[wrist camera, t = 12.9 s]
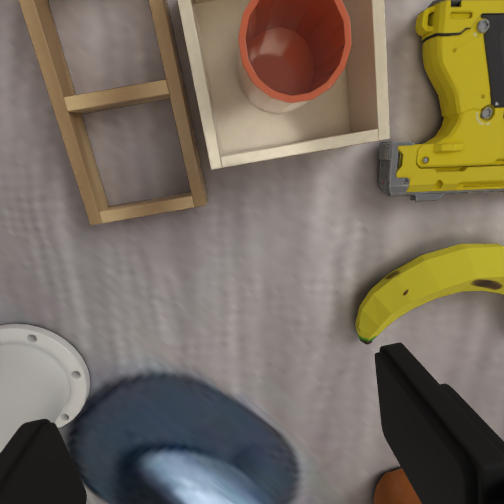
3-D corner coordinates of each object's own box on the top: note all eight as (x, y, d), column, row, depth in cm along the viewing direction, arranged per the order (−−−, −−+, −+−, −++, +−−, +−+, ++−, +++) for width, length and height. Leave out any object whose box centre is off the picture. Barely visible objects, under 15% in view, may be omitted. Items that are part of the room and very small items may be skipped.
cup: (245, 119, 29) (249, 110, 21) (231, 32, 27) (229, -16, 19) (321, 106, 29) (355, 92, 21) (312, 18, 27) (346, -37, 19)
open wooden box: (215, 164, 30) (210, 170, 24) (183, -4, 26) (167, -49, 20) (357, 139, 30) (390, 138, 24) (346, -32, 26) (381, -87, 20)
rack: (101, 219, 31) (90, 225, 29) (26, -25, 25) (4, -42, 23) (208, 200, 31) (206, 205, 29) (157, -48, 25) (149, -68, 23)
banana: (344, 319, 31) (404, 409, 37) (538, 215, 27) (567, 334, 34) (329, 290, 35) (385, 376, 41) (497, 197, 31) (530, 306, 38)
